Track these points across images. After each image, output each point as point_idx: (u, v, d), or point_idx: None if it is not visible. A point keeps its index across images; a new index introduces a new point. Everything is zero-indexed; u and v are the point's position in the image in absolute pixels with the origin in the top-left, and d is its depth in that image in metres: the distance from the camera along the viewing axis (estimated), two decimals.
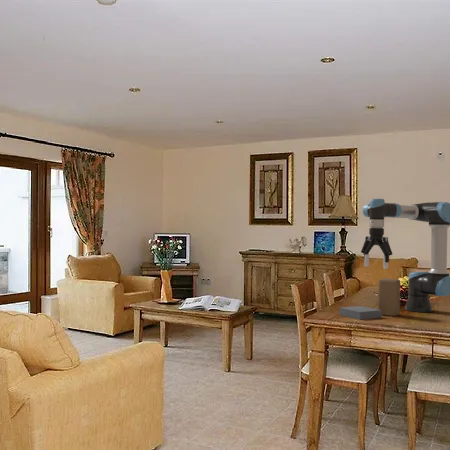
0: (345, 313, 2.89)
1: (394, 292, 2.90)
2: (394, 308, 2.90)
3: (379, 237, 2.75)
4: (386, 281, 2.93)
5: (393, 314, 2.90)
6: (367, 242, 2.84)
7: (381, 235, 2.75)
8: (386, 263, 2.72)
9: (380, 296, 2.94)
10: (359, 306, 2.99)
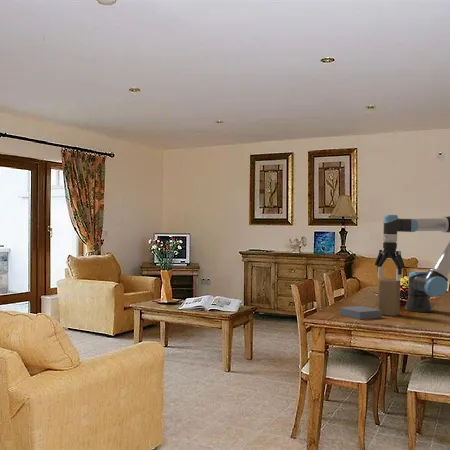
0: (345, 313, 2.89)
1: (394, 292, 2.90)
2: (394, 308, 2.90)
3: (392, 251, 2.93)
4: (386, 281, 2.93)
5: (393, 314, 2.90)
6: (381, 255, 3.02)
7: (394, 249, 2.93)
8: (399, 275, 2.90)
9: (380, 296, 2.94)
10: (359, 306, 2.99)
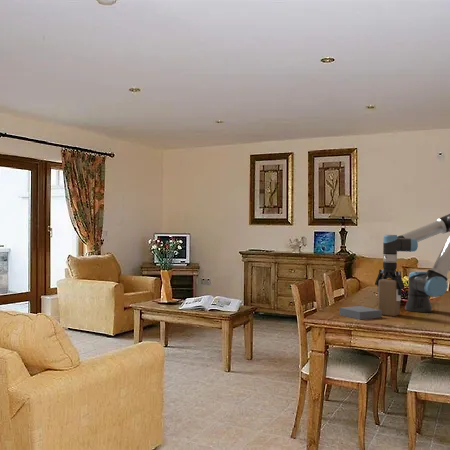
0: (345, 313, 2.89)
1: (394, 292, 2.90)
2: (394, 308, 2.90)
3: (392, 271, 2.93)
4: (386, 281, 2.93)
5: (393, 314, 2.90)
6: (381, 275, 3.02)
7: (394, 269, 2.93)
8: (399, 296, 2.91)
9: (380, 296, 2.94)
10: (359, 306, 2.99)
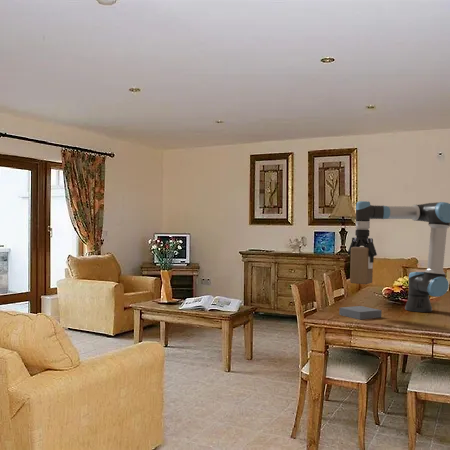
0: (345, 313, 2.89)
1: (366, 259, 2.84)
2: (366, 276, 2.84)
3: (364, 238, 2.87)
4: (358, 248, 2.86)
5: (365, 282, 2.84)
6: (353, 243, 2.95)
7: (366, 236, 2.87)
8: (371, 263, 2.84)
9: (352, 264, 2.88)
10: (359, 306, 2.99)
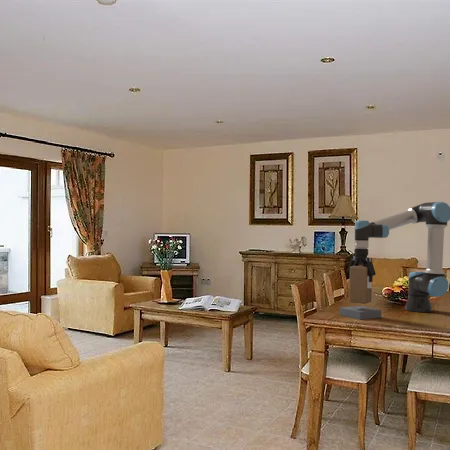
0: (345, 313, 2.89)
1: (365, 279, 2.84)
2: (365, 295, 2.84)
3: (363, 257, 2.87)
4: (357, 268, 2.86)
5: (364, 301, 2.84)
6: (352, 262, 2.95)
7: (365, 255, 2.87)
8: (370, 283, 2.84)
9: (351, 283, 2.88)
10: (359, 306, 2.99)
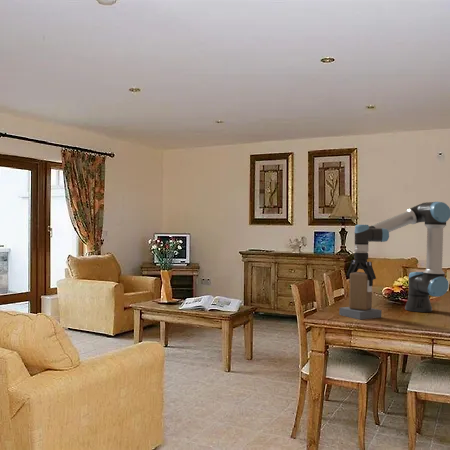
0: (345, 313, 2.89)
1: (365, 285, 2.84)
2: (365, 302, 2.84)
3: (363, 261, 2.87)
4: (357, 274, 2.86)
5: (364, 308, 2.84)
6: (352, 266, 2.95)
7: (365, 260, 2.87)
8: (370, 287, 2.84)
9: (351, 290, 2.88)
10: None
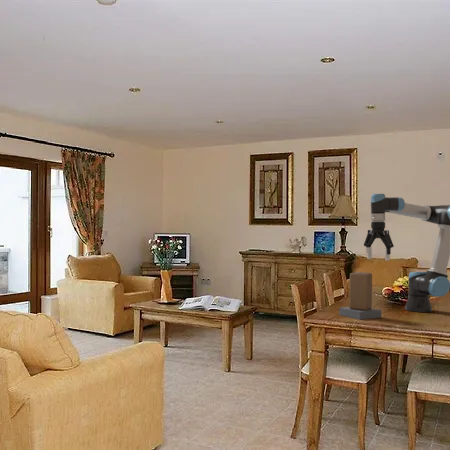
0: (345, 313, 2.89)
1: (365, 286, 2.84)
2: (365, 302, 2.84)
3: (380, 230, 2.87)
4: (357, 274, 2.86)
5: (364, 308, 2.84)
6: (369, 235, 2.96)
7: (382, 228, 2.87)
8: (388, 255, 2.85)
9: (351, 290, 2.88)
10: None
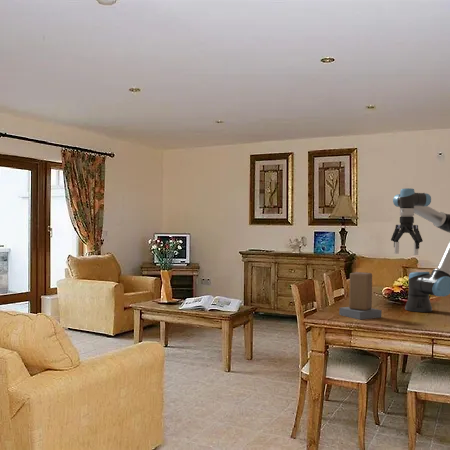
0: (345, 313, 2.89)
1: (365, 286, 2.84)
2: (365, 302, 2.84)
3: (409, 225, 2.88)
4: (357, 274, 2.86)
5: (364, 308, 2.84)
6: (397, 230, 2.97)
7: (411, 223, 2.88)
8: (416, 250, 2.85)
9: (351, 290, 2.88)
10: None
